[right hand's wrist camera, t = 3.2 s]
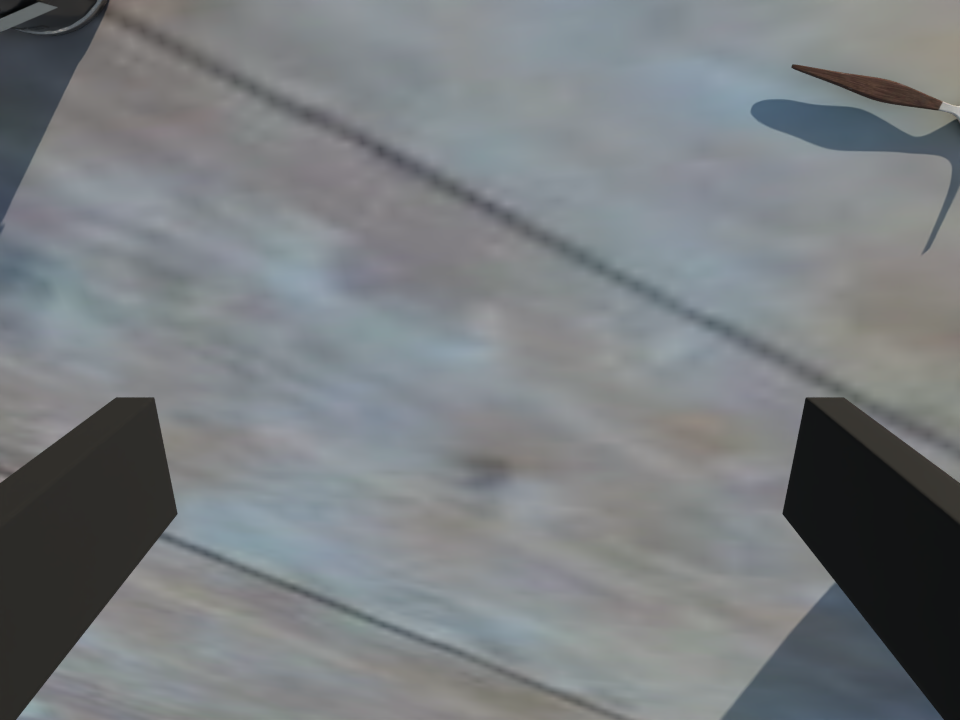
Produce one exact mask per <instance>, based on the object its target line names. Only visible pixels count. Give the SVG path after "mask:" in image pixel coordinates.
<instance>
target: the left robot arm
mask: <svg viewBox="0 0 960 720" xmlns="http://www.w3.org/2000/svg"><path fill="white" fill-rule="evenodd" d="M107 1H108V0H0V31H1V32H2V31H4V30H7V29H9V28H12V29H15V30H18V31H22V32H27V33H31V34H36V35H44V36H54V35H62V34H67V33H70V32H73V31H76V30H78V29H80V28H82V27H84V26H85V25H87V24H88V23H89V22H91V21H92V20H93V19H94V18H95V17H96V16H97V15H98V14H99V13H100V12H101V10H102V9H103V8H104V6H105V5H106V3H107Z"/></svg>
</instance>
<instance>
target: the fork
mask: <svg viewBox="0 0 960 720" xmlns="http://www.w3.org/2000/svg"><path fill="white" fill-rule="evenodd" d="M791 68H793V69H795V70H798V71H800V72H803V73H806V74H808V75H811V76H814V77H816V78H819V79H822V80H824V81H827V82H830V83H832V84H835V85H837V86H840V87H842V88H845V89H847V90H850V91H852V92H854V93H857V94H859V95H862V96H864V97H867V98H870V99H873V100H876V101H880V102H884V103H889V104H895V105H902V106H909V107H917V108H924V109H932V110H939V111H944V112H948V113H951V114H953V115H954V116H955V117H956V118H957V119H958V121H959V122H960V106H953V105H950V104H947V103H945V102H942V101H940V100H938V99H935V98H933V97H931V96H928V95H926V94H924V93H922V92H919V91H917V90H915V89H912V88H910V87H907V86H905V85H902V84H900V83H897V82H894V81H890V80H886V79H881V78H875V77H869V76H862V75H855V74H848V73H841V72H835V71H829V70H823V69H818V68H812V67H807V66H801V65H792V67H791Z"/></svg>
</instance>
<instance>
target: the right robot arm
mask: <svg viewBox="0 0 960 720" xmlns="http://www.w3.org/2000/svg"><path fill="white" fill-rule="evenodd" d="M176 515H177V509H176V504H175V499H174V494H173V489H172V484H171V479H170V474H169V469H168V464H167V459H166V454H165V449H164V444H163V439H162V434H161V429H160V424H159V419H158V414H157V409H156V404H155V399H154V398H115V399H114V400H112V401H111V402H109V403H108V404H107V405H105V406H104V407H103V408H101V409H100V410H99V411H97V412H96V413H95V414H93V415H92V416H91V417H89V418H88V419H86V420H85V421H84V422H82V423H81V424H80V425H78V426H77V427H76V428H74V429H73V430H72V431H70V432H69V433H68V434H66V435H65V436H63V437H62V438H61V439H59V440H58V441H57V442H55V443H54V444H53V445H51V446H50V447H49V448H47V449H46V450H45V451H43V452H42V453H40V454H39V455H38V456H36V457H35V458H34V459H32V460H31V461H30V462H28V463H27V464H26V465H24V466H23V467H22V468H20V469H19V470H17V471H16V472H15V473H13V474H12V475H11V476H9V477H8V478H7V479H5V480H4V481H3V482H1V483H0V720H16V719H17V718H18V716H19V715H20V714H21V713H22V711H23V710H24V709H25V708H26V706H27V705H28V704H29V702H30V701H31V700H32V699H33V697H34V696H35V695H36V694H37V692H38V691H39V690H40V688H41V687H42V686H43V685H44V683H45V682H46V681H47V679H48V678H49V677H50V676H51V674H52V673H53V672H54V671H55V669H56V668H57V667H58V665H59V664H60V663H61V662H62V660H63V659H64V658H65V657H66V655H67V654H68V653H69V651H70V650H71V649H72V648H73V646H74V645H75V644H76V643H77V641H78V640H79V639H80V637H81V636H82V635H83V634H84V632H85V631H86V630H87V629H88V627H89V626H90V625H91V623H92V622H93V621H94V620H95V618H96V617H97V616H98V615H99V613H100V612H101V611H102V609H103V608H104V607H105V606H106V604H107V603H108V602H109V601H110V599H111V598H112V597H113V595H114V594H115V593H116V592H117V590H118V589H119V588H120V587H121V585H122V584H123V583H124V581H125V580H126V579H127V578H128V576H129V575H130V574H131V573H132V571H133V570H134V569H135V567H136V566H137V565H138V564H139V562H140V561H141V560H142V559H143V557H144V556H145V555H146V553H147V552H148V551H149V550H150V548H151V547H152V546H153V544H154V543H155V542H156V541H157V539H158V538H159V537H160V536H161V534H162V533H163V532H164V530H165V529H166V528H167V527H168V525H169V524H170V523H171V522H172V520H173V519H174V518H175V516H176ZM783 515H784V516H785V518H786V519H787V520H788V522H789V523H790V524H791V525H792V527H793V528H794V529H795V530H796V532H797V533H798V534H799V536H800V537H801V538H802V539H803V541H804V542H805V543H806V544H807V546H808V547H809V548H810V550H811V551H812V552H813V553H814V555H815V556H816V557H817V559H818V560H819V561H820V562H821V564H822V565H823V566H824V567H825V569H826V570H827V571H828V573H829V574H830V575H831V576H832V578H833V579H834V580H835V581H836V583H837V584H838V585H839V587H840V588H841V589H842V590H843V592H844V593H845V594H846V595H847V597H848V598H849V599H850V601H851V602H852V603H853V604H854V606H855V607H856V608H857V609H858V611H859V612H860V613H861V615H862V616H863V617H864V618H865V620H866V621H867V622H868V623H869V625H870V626H871V627H872V629H873V630H874V631H875V632H876V634H877V635H878V636H879V637H880V639H881V640H882V641H883V643H884V644H885V645H886V646H887V648H888V649H889V650H890V651H891V653H892V654H893V655H894V657H895V658H896V659H897V660H898V662H899V663H900V664H901V665H902V667H903V668H904V669H905V671H906V672H907V673H908V674H909V676H910V677H911V678H912V679H913V681H914V682H915V683H916V685H917V686H918V687H919V688H920V690H921V691H922V692H923V694H924V695H925V696H926V697H927V699H928V700H929V701H930V702H931V704H932V705H933V706H934V708H935V709H936V710H937V711H938V713H939V714H940V715H941V716H942V718H943V719H944V720H960V483H959V482H957V481H956V480H955V479H953V478H952V477H951V476H949V475H948V474H947V473H945V472H944V471H943V470H941V469H940V468H938V467H937V466H936V465H934V464H933V463H932V462H930V461H929V460H928V459H926V458H925V457H924V456H922V455H921V454H920V453H918V452H917V451H915V450H914V449H913V448H911V447H910V446H909V445H907V444H906V443H905V442H903V441H902V440H901V439H899V438H898V437H897V436H895V435H894V434H892V433H891V432H890V431H888V430H887V429H886V428H884V427H883V426H882V425H880V424H879V423H878V422H876V421H875V420H874V419H872V418H871V417H869V416H868V415H867V414H865V413H864V412H863V411H861V410H860V409H859V408H857V407H856V406H855V405H853V404H852V403H851V402H849V401H848V400H846V399H845V398H806V399H805V404H804V409H803V414H802V419H801V424H800V429H799V434H798V439H797V444H796V449H795V454H794V459H793V464H792V469H791V474H790V479H789V484H788V489H787V494H786V499H785V504H784V509H783Z"/></svg>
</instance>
